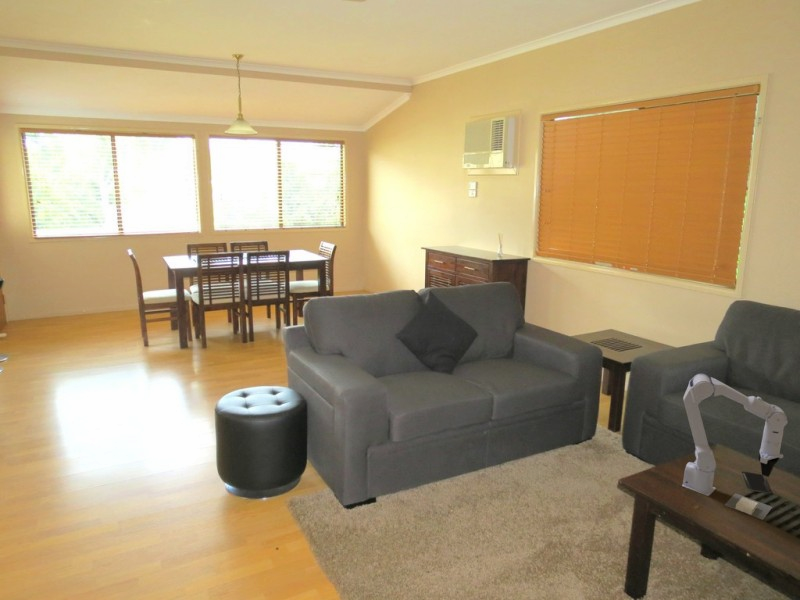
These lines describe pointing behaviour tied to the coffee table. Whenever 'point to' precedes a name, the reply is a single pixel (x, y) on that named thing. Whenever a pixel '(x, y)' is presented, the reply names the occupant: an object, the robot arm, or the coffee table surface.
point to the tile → (746, 506)
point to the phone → (756, 482)
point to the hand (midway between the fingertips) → (765, 475)
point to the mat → (758, 513)
